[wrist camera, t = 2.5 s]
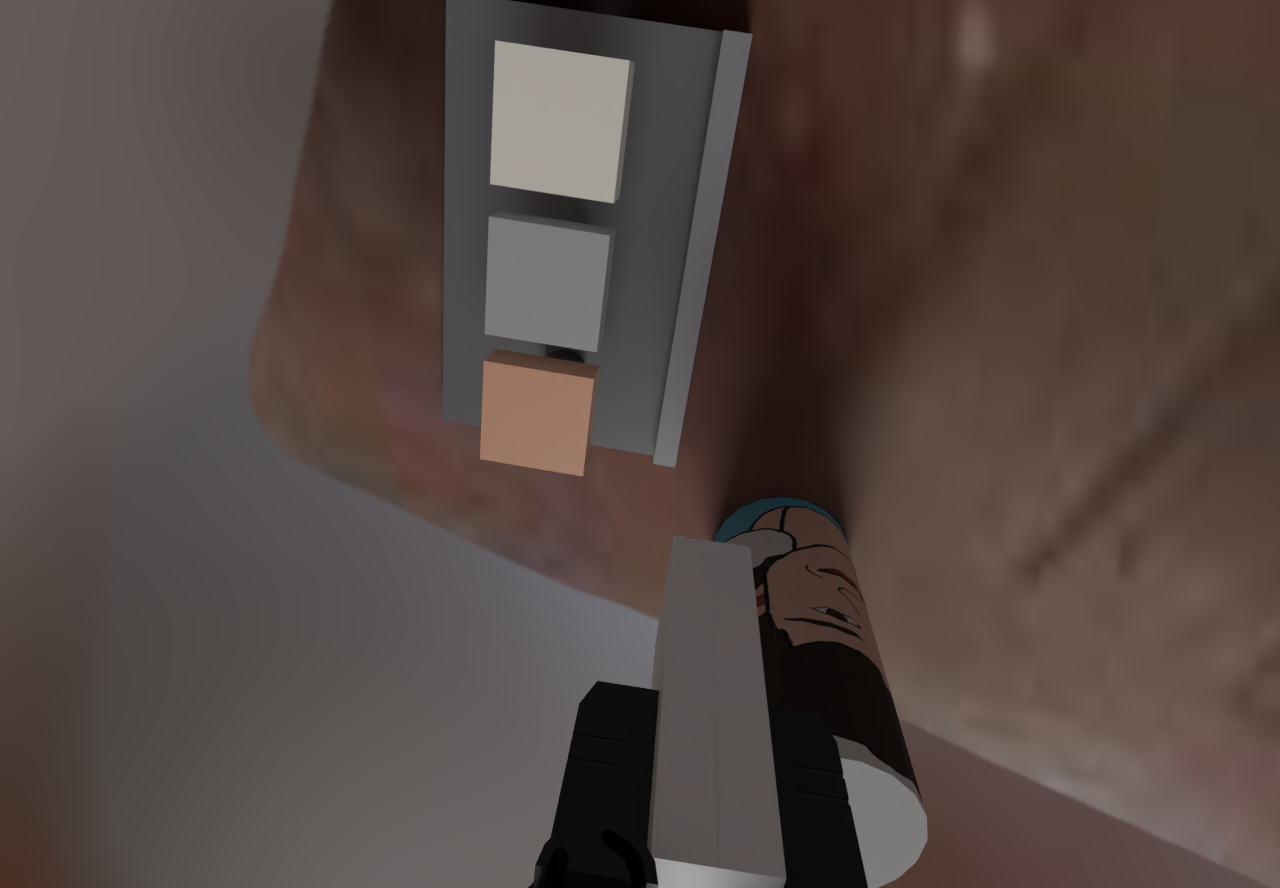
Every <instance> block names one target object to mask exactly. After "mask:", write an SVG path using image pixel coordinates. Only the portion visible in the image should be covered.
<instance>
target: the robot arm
mask: <svg viewBox="0 0 1280 888" xmlns="http://www.w3.org/2000/svg"><path fill="white" fill-rule="evenodd" d="M528 888H868V885H867V880H866V875H865V871H864V866H863V861H862V857H861V852H860V847H859V843H858V838H857V833H856V829H855V824H854V819H853V815H852V810H851V805H849V796H848V791H847V787H846V782H845V779H843V768H842V763H841V759H840V754H839V749H838V745H837V741H836V740H835V738H834V737H833V735H832V734H831V732H830V731H829V729H828V728H827V726H826V725H825V723H824V722H823V720H822V718H821V717H820V715H819V714H818V713H813V712H806V711H800V710H793V709H787V708H781V707H774V706H768V705H767V696H766V687H765V678H764V669H763V660H762V650H761V641H760V632H759V623H758V614H757V605H756V596H755V586H754V577H753V568H752V559H751V550H750V547H747V546H740V545H733V544H727V543H720V542H713V541H707V540H700V539H693V538H687V537H680V536H674V538H673V544H672V550H671V556H670V562H669V567H668V573H667V579H666V585H665V591H664V597H663V603H662V608H661V614H660V620H659V626H658V632H657V638H656V644H655V655H654V665H653V676H652V687H651V689H646V688H639V687H632V686H627V685H619V684H613V683H607V682H601V681H597V682H596V683H595V685H594V686H593V687H592V688H591V690H590V691H589V692H588V693H587V695H586V696H585V697H584V699H583V700H582V701H581V702H580V703H579V708H578V713H577V717H576V722H575V726H574V731H573V737H572V741H571V745H570V750H569V755H568V760H567V764H566V769H565V773H564V778H563V783H562V787H561V792H560V797H559V802H558V806H557V811H556V816H555V820H554V825H553V829H552V834H551V838H550V839H549V840H548V841H547V842H546V843H545V845H544V847H543V849H542V852H541V854H540V856H539V859H538V860H537V863H536V865H535V875H534V882H533V884H532V885H531V886H529V887H528Z"/></svg>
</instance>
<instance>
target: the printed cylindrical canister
mask: <svg viewBox="0 0 1280 888" xmlns="http://www.w3.org/2000/svg"><path fill="white" fill-rule="evenodd" d="M714 542H720V543H727V544H733V545H740V546H747V547H750V550H751V559H752V568H753V577H754V586H755V596H756V605H757V614H758V623H759V632H760V641H761V650H762V660H763V669H764V678H765V687H766V696H767V705H768V706H774V707H781V708H787V709H793V710H800V711H806V712H813V713H818V714H819V715H820V717H821V718H822V720H823V722H824V723H825V725H826V726H827V728H828V729H829V731H830V732H831V734H832V735H833V737H834V738H835V740H836V741H837V745H838V749H839V754H840V759H841V763H842V768H843V779H845V782H846V787H847V791H848V796H849V805H851V810H852V815H853V819H854V824H855V829H856V833H857V838H858V843H859V847H860V852H861V857H862V861H863V866H864V871H865V875H866V880H867V885H868V888H878V887H880V886H883V885H885V884H886V883H889V882H891V881H893V880H895V879H897V878H899V877H900V876H901V875H902V874H903V873H904V872H905V871H906V870H907V869H909V868H910V867H911V866H912V865H913V864H914V863H915V862H916V861H917V860H918V858H919V856H920V854H921V852H922V850H923V848H924V846H925V843H926V842H927V816H926V812H925V809H924V805H923V802H922V799H921V796H920V792H919V789H918V785H917V781H916V778H915V775H914V772H913V768H912V764H911V761H910V757H909V754H908V750H907V747H906V744H905V740H904V737H903V733H902V730H901V726H900V723H899V719H898V716H897V713H896V709H895V706H894V702H893V699H892V695H891V692H890V689H889V685H888V682H887V678H886V675H885V671H884V668H883V664H882V661H881V658H880V654H879V651H878V647H877V644H876V640H875V637H874V633H873V630H872V627H871V623H870V620H869V616H868V613H867V609H866V606H865V603H864V599H863V596H862V592H861V589H860V585H859V582H858V578H857V575H856V572H855V568H854V565H853V561H852V558H851V554H850V551H849V548H848V544H847V541H846V538H845V536H844V534H843V532H842V530H841V528H840V526H839V524H838V522H836V521H835V520H834V519H833V518H832V517H831V516H830V515H829V514H828V513H827V512H826V511H825V510H824V509H822V508H820V507H818V506H816V505H813V504H811V503H809V502H807V501H805V500H799V499H793V498H787V497H777V498H768V499H760V500H758V501H755V502H753V503H750V504H748V505H745V506H743V507H741V508H740V509H738V510H737V511H736V512H735V513H733V514H732V515H731V516H730V517H728V518H727V519H726V520H725V521H724V523H723V525H722V526H721V528H720V529H719V531H718V532H717V534H716V536H715V541H714Z"/></svg>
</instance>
